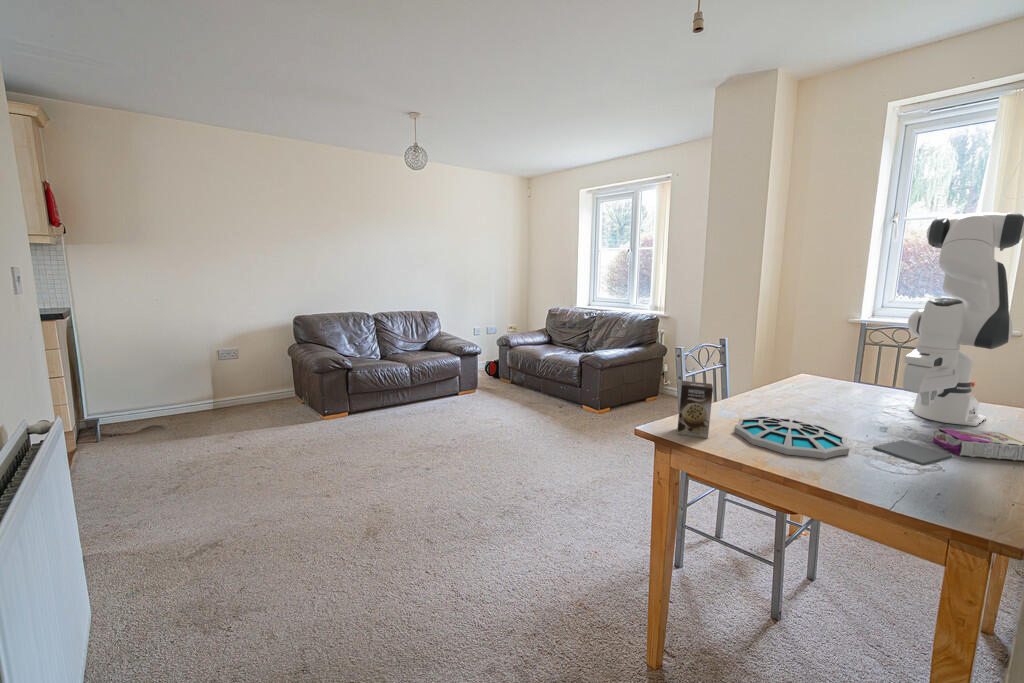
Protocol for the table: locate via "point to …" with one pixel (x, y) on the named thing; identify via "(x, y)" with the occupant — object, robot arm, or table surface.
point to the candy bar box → (980, 444)
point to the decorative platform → (792, 437)
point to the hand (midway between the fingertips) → (927, 404)
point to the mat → (912, 452)
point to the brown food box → (695, 409)
